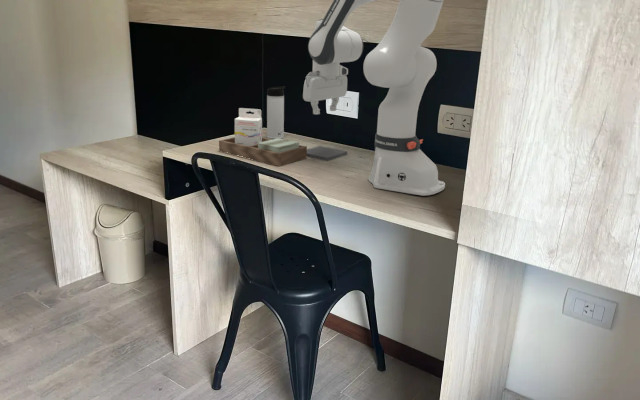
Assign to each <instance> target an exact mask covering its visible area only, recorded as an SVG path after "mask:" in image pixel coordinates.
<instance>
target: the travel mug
mask: <svg viewBox="0 0 640 400" xmlns="http://www.w3.org/2000/svg"><path fill="white" fill-rule="evenodd" d="M266 89H267V88H266ZM284 89H286V86H274V87H273V86H272V87H268V89H267V91H266V93H267V94H266V133H267V136H266V137H267V139H272V140H273V139H277V138H280V139H284V137H285V136H284V135H285V133H284V132H285V130H284V129H285V128H284V126H285V125H284V124H285V123H284V122H285V91H284Z"/></svg>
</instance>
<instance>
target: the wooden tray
mask: <svg viewBox="0 0 640 400" xmlns="http://www.w3.org/2000/svg"><path fill="white" fill-rule="evenodd" d="M268 140H272V139H268V138H266V137H263V136H262V142H264V141H268ZM307 149H308V146H307V145H302V144H299V148H296V149H292V150H288V151H285V152H281V153H277V152H272V151H268V150H263V149H259V148H258V144H257V145H253V146H245V145H240V144H236V143H235V136H234V137H230V138H225V139H220V140H218V151H219V150H220V151H224V152H228V153H231V154H235V155H239V156H243V157H246V158H245V159H247V158H250V159H249V160H251V159H253V160H252V161H254V160H256V161H255V162H259V161H260V162H259V163H263V162H264V163H263V164H267V163H268V164H267V165H270V166H276V167H282V166H285V165H288V164H293V163H296V162H299V161H302V160H305V159H307V158H308V156H307ZM220 151H219V152H220ZM224 152H223V153H224ZM228 153H227V154H228ZM231 154H230V155H231ZM235 155H234V156H235ZM239 156H238V157H239ZM243 157H242V158H243Z"/></svg>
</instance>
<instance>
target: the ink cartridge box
mask: <svg viewBox="0 0 640 400" xmlns="http://www.w3.org/2000/svg"><path fill="white" fill-rule="evenodd" d="M249 112H251V113H249ZM234 137H235V143H236V144H240V145H245V146H253V145H257V144H258V143H260V142H262V137H263V118H262V110H261V109H258V108H246V107H245V108H244V107H239V108H238V117H236V118H234Z"/></svg>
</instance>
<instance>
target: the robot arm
mask: <svg viewBox="0 0 640 400" xmlns="http://www.w3.org/2000/svg"><path fill="white" fill-rule="evenodd" d="M374 1H377V0H333V1H332V3H331V5H330V6H329V8H328V10H327V12H326V14H325V15H324V17H323V18H321V19H318V21H316V22H315V25H314V30H313V33H312V34H311V36H310V38H309V40H308V44H307V50H308V54H309V56H310V58H311V59H312V71H310V72H309V71H308V74H306V76H305V80H304V84H303V92H302V99H303V100H304V101H305V102H310V105H311V108H312V115H321V112H320V111H321V109H320V108H319V106H318V105H319V101H325V100H332V101H331V104H330V105H329V111H330V112H335V111H337V106H338V103H339V101H340V98H342V97H345V96H346V94H347V91H348V77H347V75H349V68H347V67H345V66H343V65H341V64H340V63H350V62H352V63H353V62H355V61H357V60H359V59H360V58H361V56H362V54H363V51H364V40H363V37H362V36H361V34H360V33H359V32H358V31H355V30H352V29H349V28H348V27H346V26H345V23H346V22H347V20H348V18H349V17H350V15H351V13H353V12H354V11H355V10H357V9H358V8H360V7H361V6H364V5H368V4H369V3H372V2H374ZM443 4H444V0H399V2H398V5H397V8H396V10H395V11H396V12H395V15H394V17H393V19H392V21H391V24H390V26H389V27H388V29H387V31H386V32H385V34H384V36H383V37H382V39H381V40H380V41H379V43H378V44H377V45H376V47H374V48H373V49H372V50H371V51H370V52H369V53H367V54H366V56H365V59H364V61H363V75H364V77H365V79H366V80H367V82H368V83H370V84H371V85H372V86H376V87H380V88H386V89H387V88H388V91H387V95H386V96H385V98H384V99H383V101H381V103H380V104H379V107H378V110H377V111H378V112H377V113H378V114H377V123H376V124H377V125H376V126H377V127H376V133H375V134H374V135H375V136H374V156H373V161H372V168H371V171H370V173H369V176H368V181H369V183H371V185H372V186H373V187H374V188H375V189H381V190H386V191H392V192H398V193H403V194H404V193H405V194H410V195H416V196H417V195H418V196H423V197H424V196H431V195H435V194H437V193H440V192H442V191H443V190H444V189H445V188H446V183H445V182H444V181H442V180H439V171H438V167H437V165H436V164H435V162H433V161H432V160H431V159H430V158H429V157H428V156H427V155H426V154H425V153H424V152H423V151H422V149H420V148H421V144H423V141H424V139H423V138H422V139H419V138H418V137H417V135H416V131H417V130H416V129H417V120H418V119H417V118H418V111H419V106H420V104H421V103H420V102H421V100H422V96H423V94H424V91H425V89H426V86H427V84H428V83H429V81H430V80H431V79H432V77H433V76H434V75H435V72H436V71H437V65H438V64H437V63H438V62H437V58H436V55H435V53H434V52H433V51H432V50H431V49H429V48H426V47H424V46H422V44H423V42H424V41H425V40H426V39H427V38H428V36H430V35H431V34H432V33H433V32H434V30H435V28H436V25H437V22H438V19H439V16H440V13H441V10H442V8H443Z"/></svg>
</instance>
